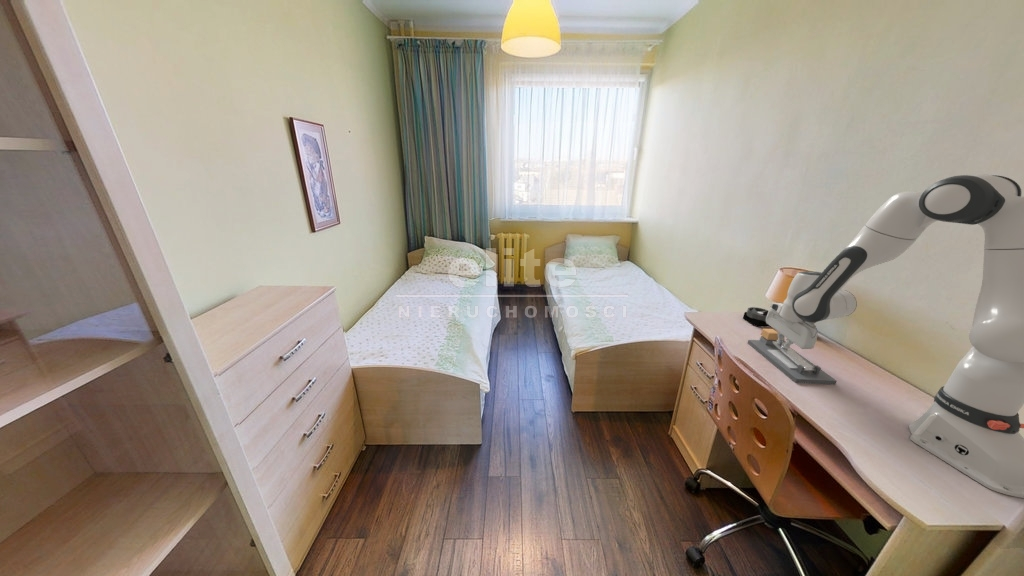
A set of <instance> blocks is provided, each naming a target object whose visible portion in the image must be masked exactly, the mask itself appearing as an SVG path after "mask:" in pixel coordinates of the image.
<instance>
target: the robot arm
mask: <svg viewBox="0 0 1024 576" xmlns="http://www.w3.org/2000/svg"><path fill="white" fill-rule="evenodd" d="M938 221H940V222H944V223H954V224H963V225H970V226H973V225H974V226H975V225H978V226H980V227H981V228H982V230H983V233H984V242H983V243H984V244H983V247H984V248H983V266H982V269H983V270H982V281H981V287H980V292H979V294H978V298H977V301H976V305H975V309H974V313H973V314H974V315H973V318H972V319H973V320H972V324H971V328H970V329H969V333H968V338H969V339H968V340H969V343H970V344H971V345H972V346H971V347H970V349H969V350H968V351H967V352H966V354H965V355H964V356H963V357H962V358H961V359H960V360H959V361H958V363H957V364H956V367H955V368H954V369H953V372H952V373H951V374H950V376H949V378H948V379H947V381H946V382H945V384H944V385H943V386H941V387H940V388H939V389H938V391H937V393H935V395H934V398H933V403H931V405H930V407H928V409H927V410H926V411H925V412H924V413H923V414H922V415H921V416H920V417H919V418H918V419H916V420H915V421H913V422H912V423H910V424H909V427H908V428H909V431H910V434H911V435H910V437H909V439H910V441H912V442H913V443H915V444H916V445H918V446H919V447H921V448H923V449H924V450H925V451H928V452H929V453H931V454H932V455H934V456H936V457H937V458H939V459H940V460H942V461H944V462H945V463H946V464H948V465H950V466H952V467H953V468H955V469H956V470H958V471H960V472H961V473H962V474H964V475H966V476H968V477H970V478H971V479H972V480H974V481H976V482H977V483H979V484H981V485H982V486H984V487H985V488H987V489H989V490H991V491H994V492H998V493H1001V494H1004V495H1007V496H1010V497H1015V498H1023V499H1024V437H1023V436H1022V434H1021V433H1020V431H1021V430H1020V429H1024V423H1020V414H1019V413H1018V412H1019V411H1020V410H1021V409H1022V407H1023V405H1024V196H1022V189H1021V186H1020V185H1019V184H1018V182H1017V181H1015V180H1013V179H1011V178H1009V177H1006V176H1004V175H995V174H994V175H992V174H991V175H990V174H985V173H973V174H966V175H965V174H961V175H954V176H950V177H946V178H943V179H941V180H939V181H937V182H934V183H933V184H931V185H930V186H928V187H927V188H926V189H925V190H924V191H923V192H921V191H916V190H915V191H913V190H909V191H900V192H897V193H896V194H894V195H892V196H890V197H889V198H888V199H887V200H886V201H885V202H884V203H883V204H882V205H880V206H879V208H878V209H877V210H875V212H874V213H872V216H871V217H870V218H869V219H868V220H867V221H866V222H865V224H864V225H863V226H862V228H861V229H860V230H859V232H858V233H857V234H856V235H855V236H854V238H853V239H852V241H850V242H849V244H848V245H847V246H846V247H844V249H843V250H842V251H841V252H840V253H838V255H836V257H834V259H832V260H831V262H830V263H828V265H826V268H825V269H824V270H823V271H822V272H820V271H810V270H804V271H800V272H797V274H795V275H794V277H793V279H792V280H791V282H790V284H789V286H788V290H787V294H786V298H785V299H784V300H783V302H771V304H770V308H769V310H768V314H767V317H766V323H767V324H768V325H770V326H771V329H774V330H775V331H776V332H778V340H777V343H778V344H779V345H782V347H783V348H785V349H788V348H789V347H790V348H791V345H793V344H795V346H797V347H798V348H799V349H801V350H812V349H814V348H815V345H816V343H817V339H818V333H819V330H818V328H817V325H816V324H815V323H814V324H812V323H811V322H816V323H817V322H822V321H825V320H832V319H838V318H843V317H848V316H850V315H852V314H853V313H854V312H855V311H856V310H857V307H858V306H857V305H858V303H857V302H858V301H857V298H856V297H855V295H853V294H852V292H850V291H848V290H845V289H843V288H844V287H845V286H846V285H847V283H848V282H849V281H850V280H852V278H853V277H855V276H857V274H859V273H861V272H863V271H865V270H867V269H871V268H872V267H875V266H878V265H882V264H885V263H888V262H890V261H893V260H895V259H897V258H899V257H900V256H902V255H903V253H905V252H906V251H907V250H909V249H910V247H911V246H912V245H913V244H914V243H915V242H916V240H918V239H919V237H920V236H921V235H922V234H923V233H924V231H925V230H926V229H927V228H928V227H929V226H931V225H933V223H935V222H938ZM785 338H786V339H785Z"/></svg>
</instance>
